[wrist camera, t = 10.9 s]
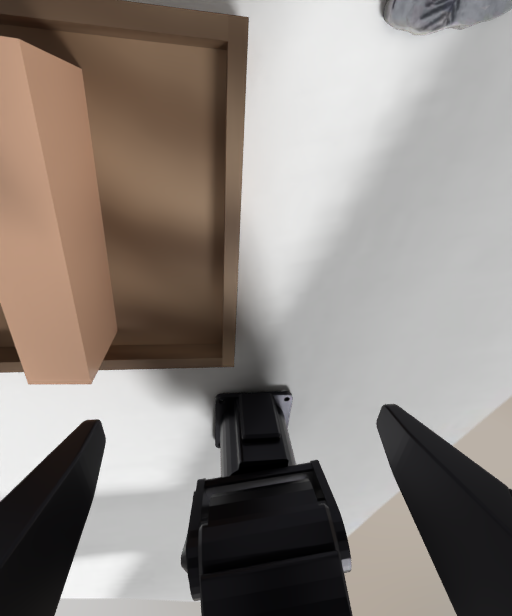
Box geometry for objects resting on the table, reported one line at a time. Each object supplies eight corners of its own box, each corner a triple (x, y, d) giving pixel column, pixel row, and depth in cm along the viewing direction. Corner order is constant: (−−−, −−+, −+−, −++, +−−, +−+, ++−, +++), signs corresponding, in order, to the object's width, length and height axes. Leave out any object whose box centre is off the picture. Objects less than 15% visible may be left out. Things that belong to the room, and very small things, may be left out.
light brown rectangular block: (117, 330, 20) (91, 384, 16) (69, 329, 20) (28, 384, 15) (81, 68, 13) (18, 38, 9) (6, 57, 13) (-97, 20, 9)
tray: (232, 345, 23) (234, 366, 21) (-34, 349, 21) (-61, 373, 18) (243, 34, 14) (248, 16, 12) (-222, -24, 12) (-315, -57, 10)
